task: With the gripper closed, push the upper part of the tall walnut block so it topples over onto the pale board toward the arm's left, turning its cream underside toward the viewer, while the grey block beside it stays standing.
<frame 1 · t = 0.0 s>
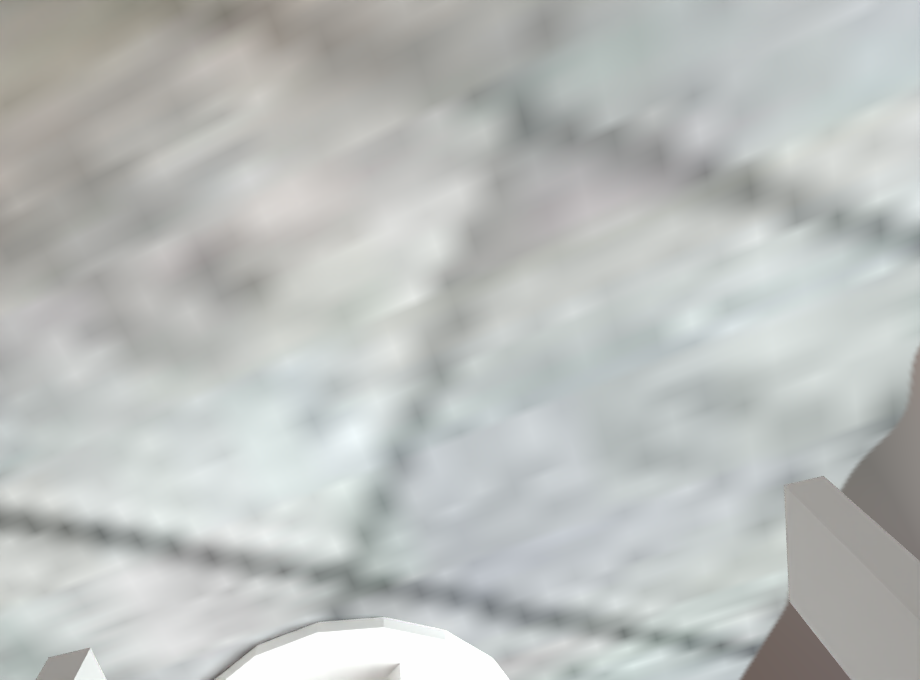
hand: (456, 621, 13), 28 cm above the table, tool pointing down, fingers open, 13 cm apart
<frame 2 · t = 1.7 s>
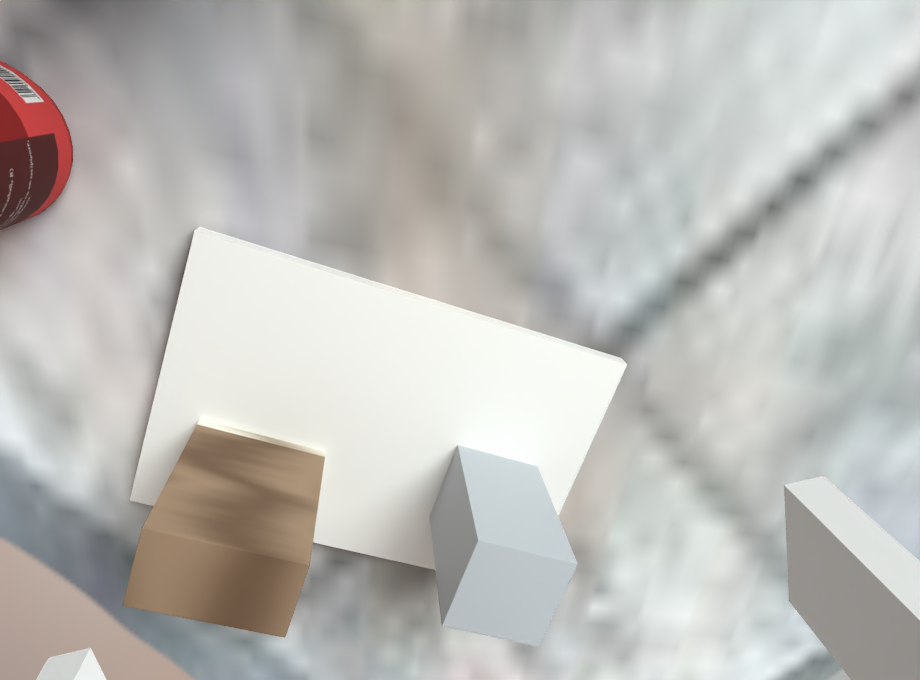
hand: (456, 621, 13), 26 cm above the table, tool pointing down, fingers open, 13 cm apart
grey block: (483, 491, 42), point 1 cm above the table, touching board
walnut block: (254, 466, 40), point 1 cm above the table, touching board
board: (379, 424, 41), on the table
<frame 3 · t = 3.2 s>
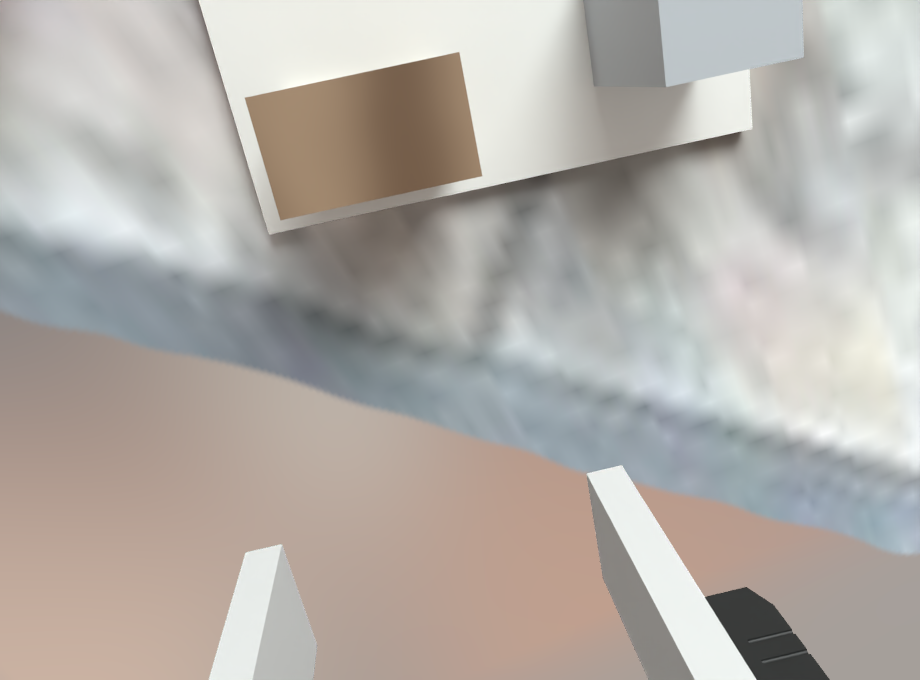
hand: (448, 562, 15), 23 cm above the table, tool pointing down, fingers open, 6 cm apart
grey block: (640, 17, 32), point 1 cm above the table, touching board
walnut block: (371, 122, 33), point 1 cm above the table, touching board
board: (479, 4, 32), on the table
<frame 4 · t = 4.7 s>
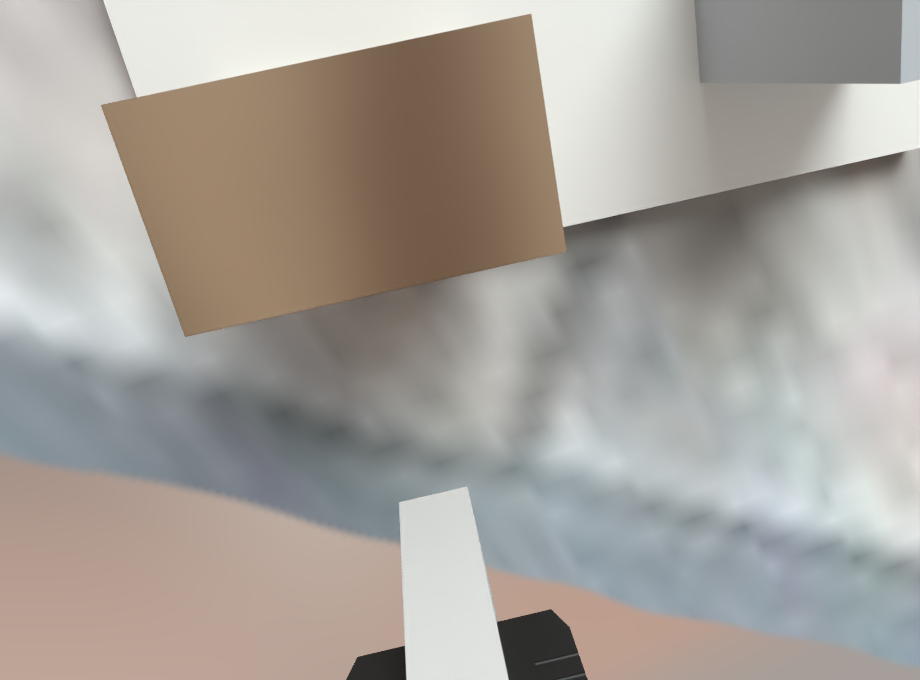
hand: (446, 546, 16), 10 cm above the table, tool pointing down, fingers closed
walnut block: (362, 138, 21), point 1 cm above the table, touching board
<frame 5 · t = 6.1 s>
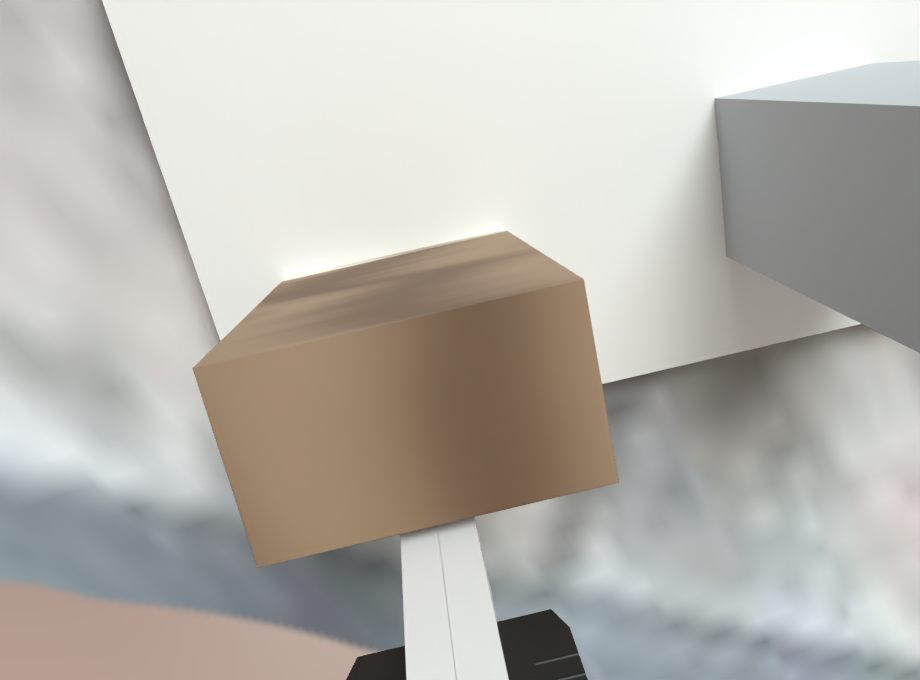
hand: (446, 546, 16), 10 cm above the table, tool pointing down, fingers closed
grey block: (797, 163, 22), point 1 cm above the table, touching board
walnut block: (409, 315, 23), point 1 cm above the table, tilted 6°, touching board
board: (564, 144, 22), on the table
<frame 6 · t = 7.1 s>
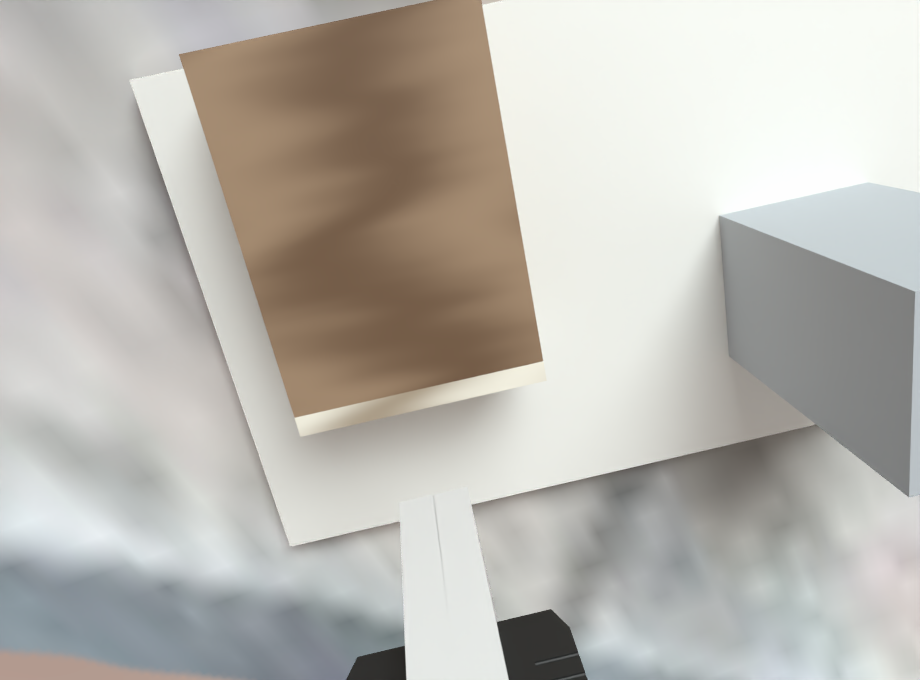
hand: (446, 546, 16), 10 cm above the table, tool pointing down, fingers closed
grey block: (796, 272, 24), point 1 cm above the table, touching board
walnut block: (420, 380, 22), point 3 cm above the table, tilted 90°, touching board
board: (577, 253, 24), on the table
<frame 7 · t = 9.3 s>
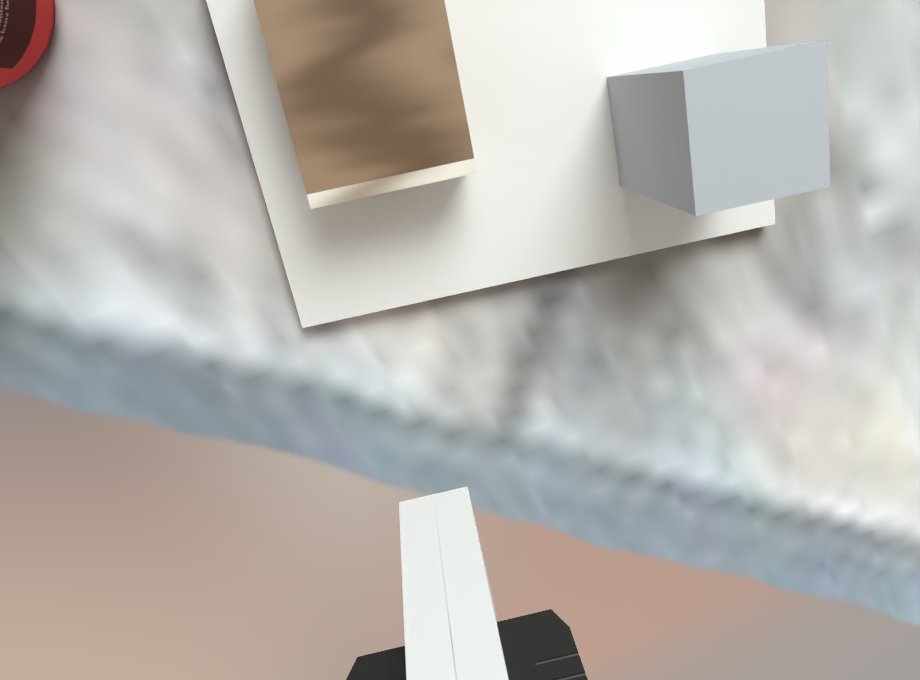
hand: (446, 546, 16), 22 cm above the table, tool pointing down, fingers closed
grey block: (665, 121, 33), point 1 cm above the table, touching board
walnut block: (393, 185, 31), point 3 cm above the table, tilted 90°, touching board
board: (509, 108, 33), on the table
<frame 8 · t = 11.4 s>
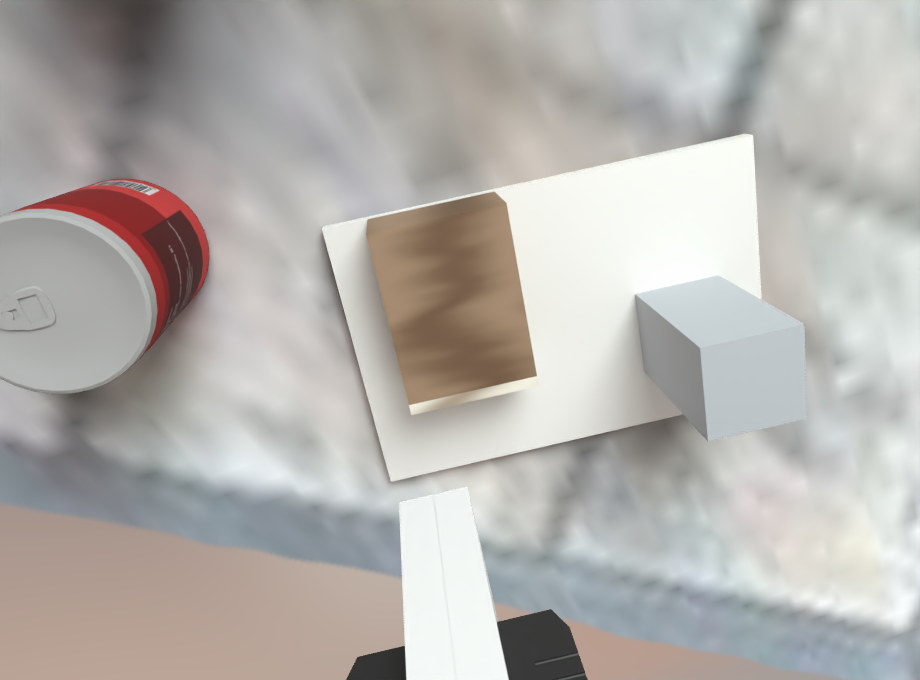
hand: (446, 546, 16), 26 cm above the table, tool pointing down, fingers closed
grey block: (680, 324, 42), point 1 cm above the table, touching board
walnut block: (470, 385, 40), point 3 cm above the table, tilted 90°, touching board
canned food: (138, 247, 39), on the table
board: (557, 313, 42), on the table
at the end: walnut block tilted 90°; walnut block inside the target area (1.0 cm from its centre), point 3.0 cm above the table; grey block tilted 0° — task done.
